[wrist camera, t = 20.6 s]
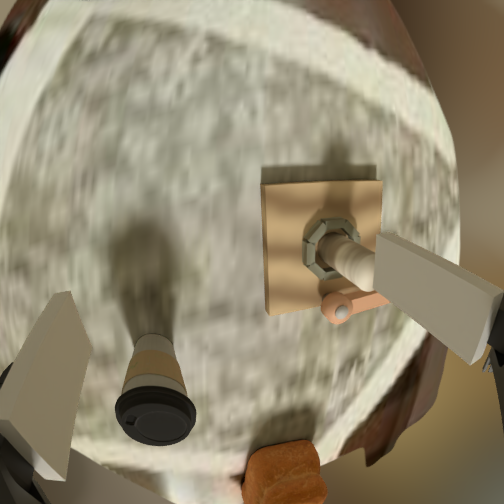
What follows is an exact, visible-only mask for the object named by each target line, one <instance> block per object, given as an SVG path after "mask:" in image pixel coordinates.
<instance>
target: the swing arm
mask: <svg viewBox="0 0 504 504" xmlns="http://www.w3.org/2000/svg"><path fill="white" fill-rule="evenodd" d="M388 303H391V302H390V301H389V300H387V299H386V298H385V297H383V296H382V295H381V294H379V293H378V292H377V291H375V290H373V291H370V292H366V291H363V290H359V291H355V292H351V293H347V294H342V293H340V292H332V293H330V294H328V295H327V296H326V297H325V298H324V300H323V301H322V304H321V312H322V313H323V315H324V316H325V317H326V318H327V319H328V320H329V321H330V322H331V323H333V324H341V323H343V322H345V321H346V320H347V319H348V318H349V317H350V315H352V314H355V313H358V312H362V311H365V310H368V309H372V308H375V307H378V306H381V305H384V304H388Z"/></svg>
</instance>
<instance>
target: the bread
mask: <svg viewBox="0 0 504 504" xmlns="http://www.w3.org/2000/svg"><path fill="white" fill-rule="evenodd" d="M327 493H328V492H327V487H326V484H325V482H324V481H323V479H322V478H321V476H320V459H319V456H318V453H317V451H316V449H315V447H314V445H313V444H312V443H311V442H310V441H308V440H298V441H292V442H287V443H282V444H278V445H273V446H268V447H264V448H261V449H259V450H257V451H256V452H255V453H254V454H253V455H252V456H251V457H250V459H249V461H248V467H247V470H246V475H245V482H244V483H243V485H242V498H243V501H244V504H323V502H324V501H325V499H326V497H327Z"/></svg>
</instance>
